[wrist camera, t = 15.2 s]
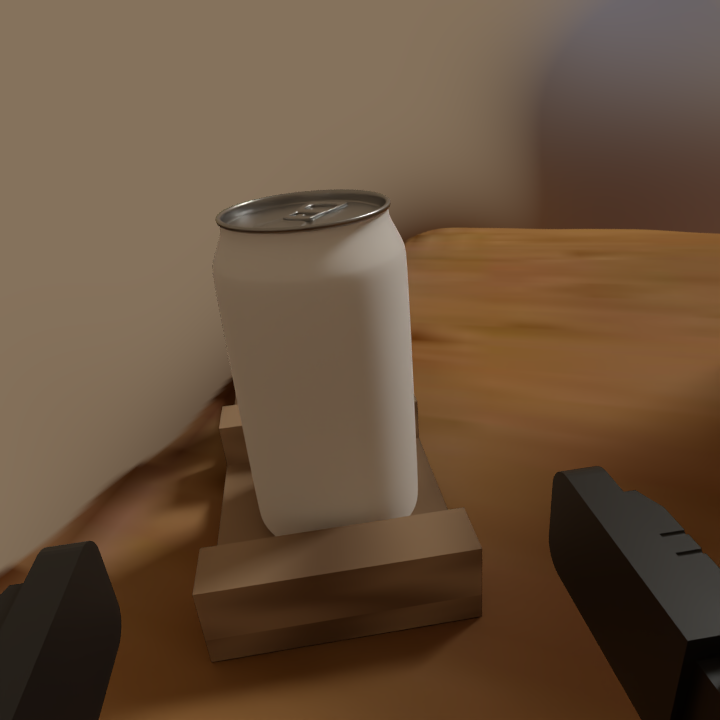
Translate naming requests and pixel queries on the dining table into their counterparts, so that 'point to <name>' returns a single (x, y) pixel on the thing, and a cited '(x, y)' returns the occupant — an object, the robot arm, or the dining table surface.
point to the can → (320, 356)
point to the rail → (330, 568)
